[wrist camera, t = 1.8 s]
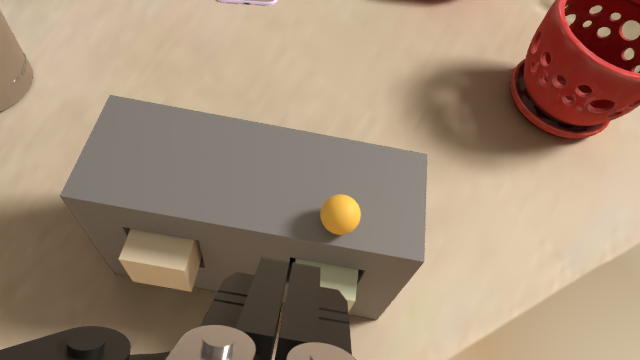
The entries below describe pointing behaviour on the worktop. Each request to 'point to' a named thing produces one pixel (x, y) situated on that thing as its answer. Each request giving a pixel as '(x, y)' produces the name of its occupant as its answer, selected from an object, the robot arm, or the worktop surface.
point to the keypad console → (251, 196)
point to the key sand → (161, 259)
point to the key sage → (337, 279)
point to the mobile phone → (251, 2)
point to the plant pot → (579, 69)
